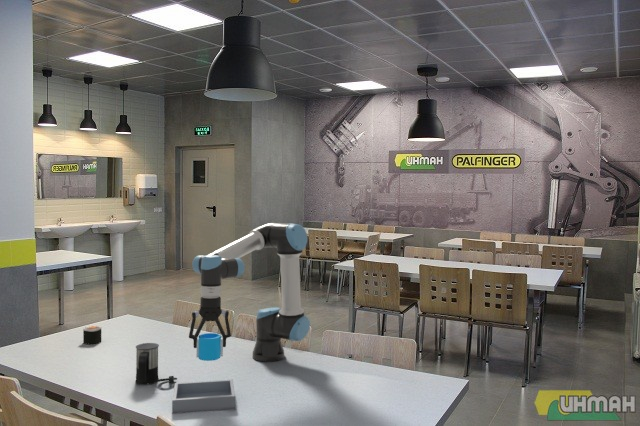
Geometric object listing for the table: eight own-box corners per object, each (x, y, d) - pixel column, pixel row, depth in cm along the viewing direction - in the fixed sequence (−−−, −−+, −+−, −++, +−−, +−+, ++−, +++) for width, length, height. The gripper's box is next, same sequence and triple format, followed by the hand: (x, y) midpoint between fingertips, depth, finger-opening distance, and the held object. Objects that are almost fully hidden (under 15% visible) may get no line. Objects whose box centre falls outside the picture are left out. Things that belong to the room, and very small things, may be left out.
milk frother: (134, 378, 217) (134, 343, 216) (173, 374, 223) (173, 340, 222) (136, 391, 204) (136, 353, 203) (178, 385, 210) (178, 349, 209)
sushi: (89, 339, 271) (89, 324, 271) (104, 340, 270) (104, 325, 270) (80, 344, 263) (80, 328, 263) (95, 345, 262) (95, 329, 262)
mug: (210, 362, 191) (210, 340, 190) (193, 358, 195) (194, 336, 195) (231, 354, 201) (231, 333, 201) (215, 350, 205) (215, 329, 205)
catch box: (232, 391, 205) (232, 379, 205) (235, 409, 188) (235, 396, 188) (174, 395, 200) (174, 382, 200) (172, 413, 183) (172, 400, 183)
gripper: (181, 298, 191) (180, 360, 192) (239, 297, 195) (238, 357, 196) (182, 294, 198) (181, 353, 199) (238, 294, 203) (237, 351, 203)
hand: (209, 355), depth 198 cm, fingers closed on mug, 8 cm apart
